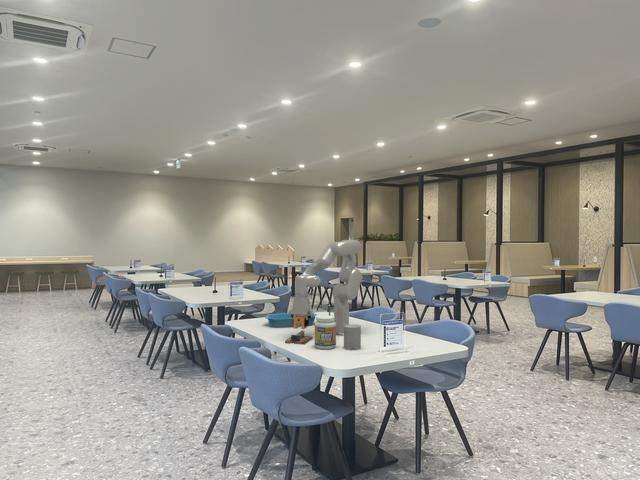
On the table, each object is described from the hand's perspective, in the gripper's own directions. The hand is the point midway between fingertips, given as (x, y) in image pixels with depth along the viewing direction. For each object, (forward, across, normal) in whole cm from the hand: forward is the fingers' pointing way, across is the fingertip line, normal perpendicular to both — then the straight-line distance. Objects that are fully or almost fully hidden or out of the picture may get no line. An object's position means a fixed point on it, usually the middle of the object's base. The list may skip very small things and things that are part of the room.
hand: (300, 325), depth 285 cm
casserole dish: (+9, +21, -44) cm, 50 cm away
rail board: (+8, 0, +4) cm, 9 cm away
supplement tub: (+9, -19, +15) cm, 26 cm away
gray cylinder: (+8, -34, +13) cm, 37 cm away
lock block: (+1, 0, 0) cm, 1 cm away
